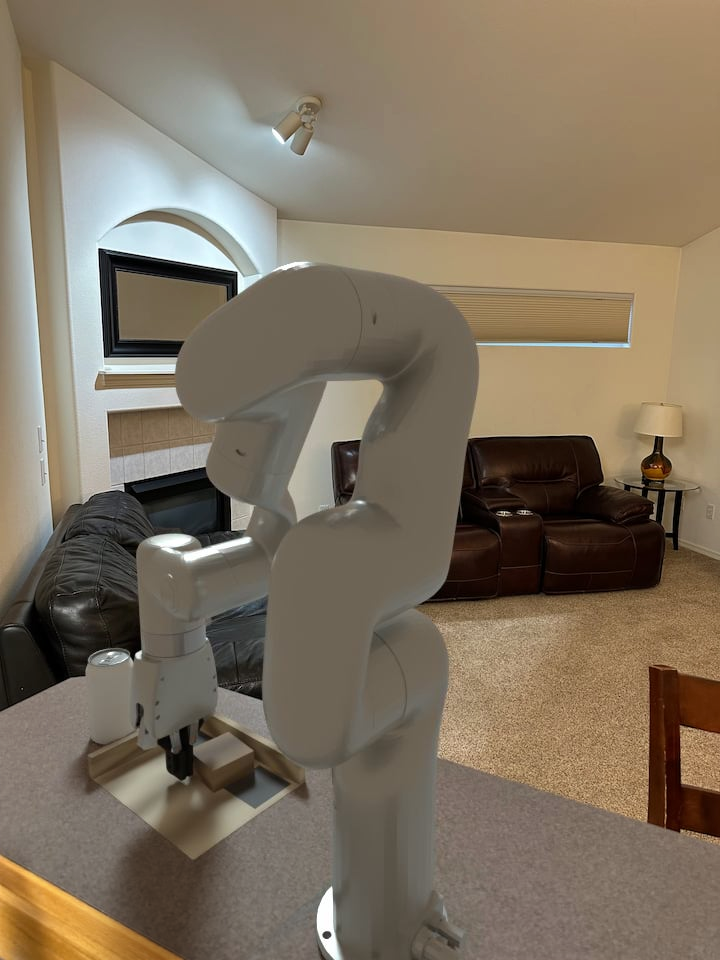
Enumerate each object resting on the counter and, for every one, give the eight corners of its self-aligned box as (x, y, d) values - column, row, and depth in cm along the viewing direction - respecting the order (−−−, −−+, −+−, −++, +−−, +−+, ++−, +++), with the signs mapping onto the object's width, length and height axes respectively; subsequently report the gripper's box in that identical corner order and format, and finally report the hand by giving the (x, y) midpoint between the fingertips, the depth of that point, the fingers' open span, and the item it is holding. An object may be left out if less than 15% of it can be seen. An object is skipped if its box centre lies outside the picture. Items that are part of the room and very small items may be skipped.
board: (305, 788, 81) (305, 759, 80) (193, 868, 68) (191, 834, 67) (199, 726, 95) (198, 701, 94) (89, 783, 82) (87, 754, 81)
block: (254, 771, 83) (253, 750, 82) (213, 792, 79) (212, 770, 78) (229, 751, 87) (228, 731, 86) (189, 770, 83) (188, 749, 82)
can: (145, 722, 96) (140, 647, 94) (125, 748, 90) (120, 668, 87) (104, 720, 97) (98, 645, 94) (81, 745, 90) (75, 666, 88)
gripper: (204, 611, 85) (209, 736, 89) (99, 649, 74) (109, 791, 77) (242, 625, 81) (245, 757, 84) (135, 668, 69) (144, 819, 73)
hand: (180, 773), depth 81 cm, fingers closed
